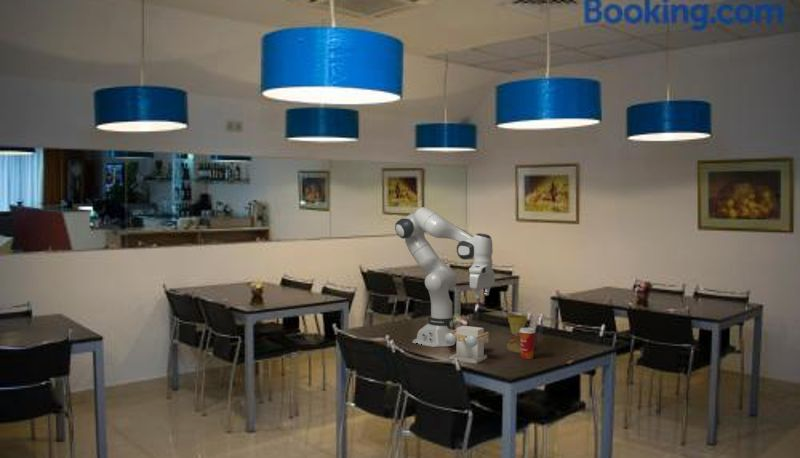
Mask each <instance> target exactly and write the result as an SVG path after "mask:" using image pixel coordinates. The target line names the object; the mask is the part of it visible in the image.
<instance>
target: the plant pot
mask: <svg viewBox="0 0 800 458" xmlns="http://www.w3.org/2000/svg"><path fill="white" fill-rule="evenodd" d="M527 319H528V318H527V316H526V315H523V314H510V315H508V316H507V320H508V321H507V322H508V324H509V330H510V334H512V335H513V334H514V333H519V334H520V332H519V331H520V328H526V324H527V322H528V321H527Z"/></svg>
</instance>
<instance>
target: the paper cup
mask: <svg viewBox="0 0 800 458" xmlns="http://www.w3.org/2000/svg"><path fill="white" fill-rule="evenodd" d="M519 332H520V345H521V353H520V359H522V360H532V359H533V358H534V353H535V352H534V351H535V336H536V330H535V328H534V327H533V328H532V327H524V328H520V331H519Z"/></svg>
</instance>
